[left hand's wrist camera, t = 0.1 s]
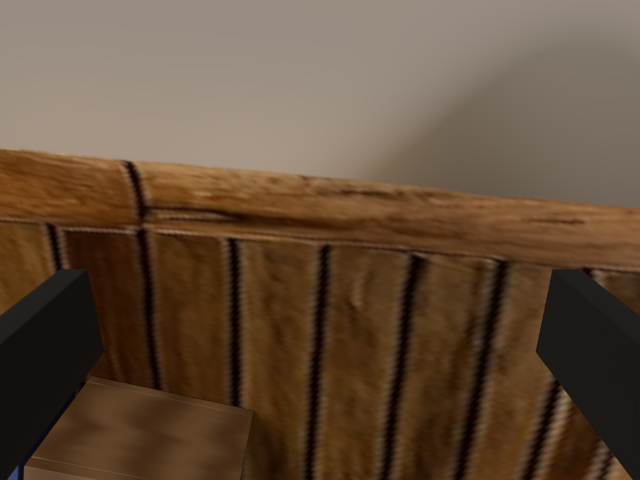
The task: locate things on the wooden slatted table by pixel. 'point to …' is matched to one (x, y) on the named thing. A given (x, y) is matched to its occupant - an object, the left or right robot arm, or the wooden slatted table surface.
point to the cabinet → (142, 437)
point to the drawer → (39, 442)
